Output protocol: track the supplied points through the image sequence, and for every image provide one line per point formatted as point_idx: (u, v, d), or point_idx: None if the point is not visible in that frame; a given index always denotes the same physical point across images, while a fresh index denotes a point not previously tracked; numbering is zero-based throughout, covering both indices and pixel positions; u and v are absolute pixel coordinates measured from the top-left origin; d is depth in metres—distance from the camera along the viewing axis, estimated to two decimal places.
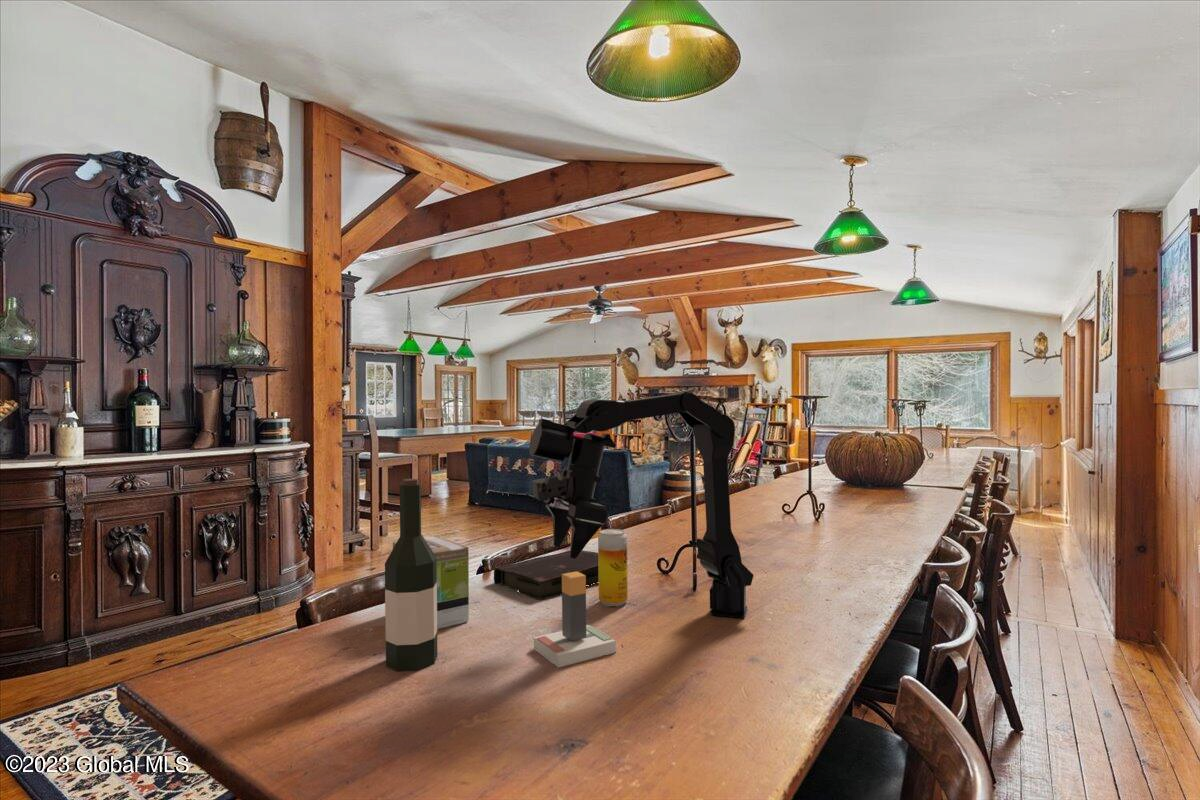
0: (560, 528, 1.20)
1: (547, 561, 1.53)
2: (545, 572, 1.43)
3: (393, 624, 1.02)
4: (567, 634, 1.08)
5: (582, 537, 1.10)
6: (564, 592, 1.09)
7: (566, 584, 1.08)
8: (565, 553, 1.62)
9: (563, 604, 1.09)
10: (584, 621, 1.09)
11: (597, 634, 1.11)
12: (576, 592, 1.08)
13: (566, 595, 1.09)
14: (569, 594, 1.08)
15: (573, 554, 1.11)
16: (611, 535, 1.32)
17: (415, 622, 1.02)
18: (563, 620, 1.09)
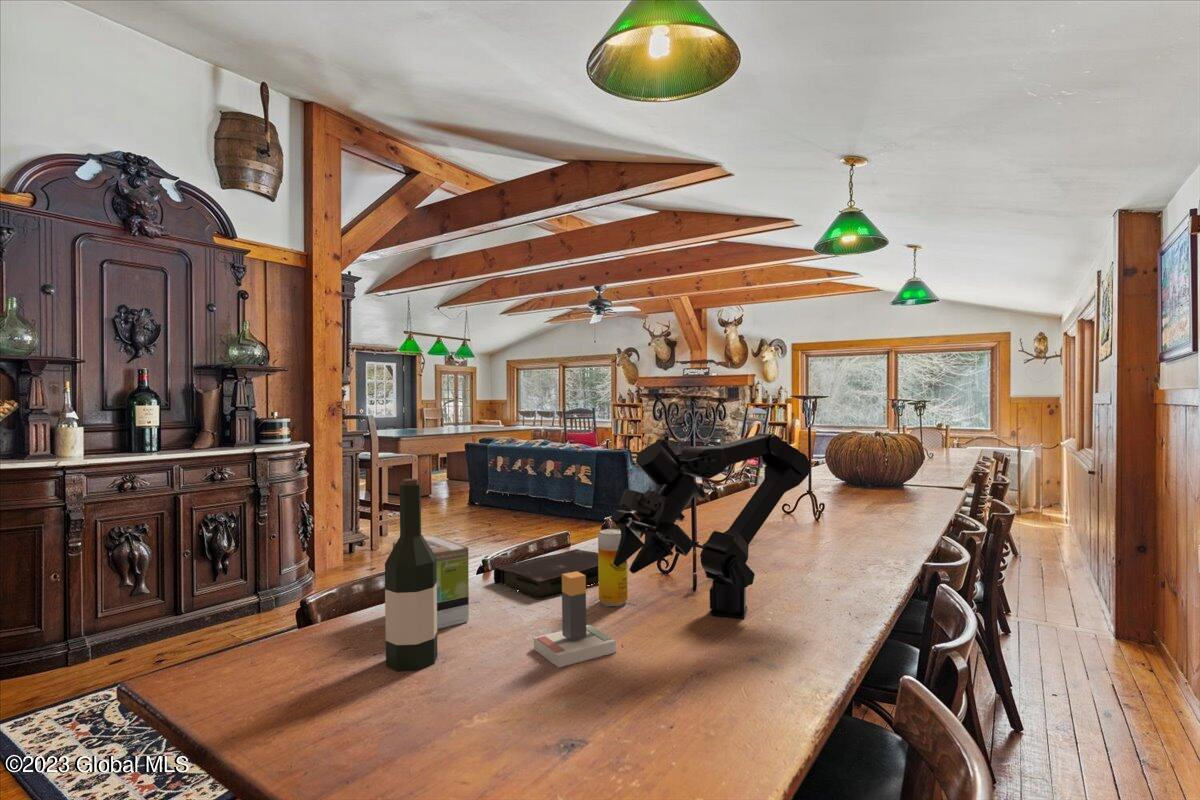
0: (625, 550, 1.18)
1: (547, 561, 1.53)
2: (544, 572, 1.43)
3: (393, 624, 1.02)
4: (567, 634, 1.08)
5: (649, 556, 1.13)
6: (564, 592, 1.09)
7: (566, 584, 1.08)
8: (566, 553, 1.62)
9: (563, 604, 1.09)
10: (584, 621, 1.09)
11: (597, 634, 1.11)
12: (576, 592, 1.08)
13: (566, 595, 1.09)
14: (569, 594, 1.08)
15: (634, 569, 1.12)
16: (611, 535, 1.32)
17: (415, 622, 1.02)
18: (563, 620, 1.09)
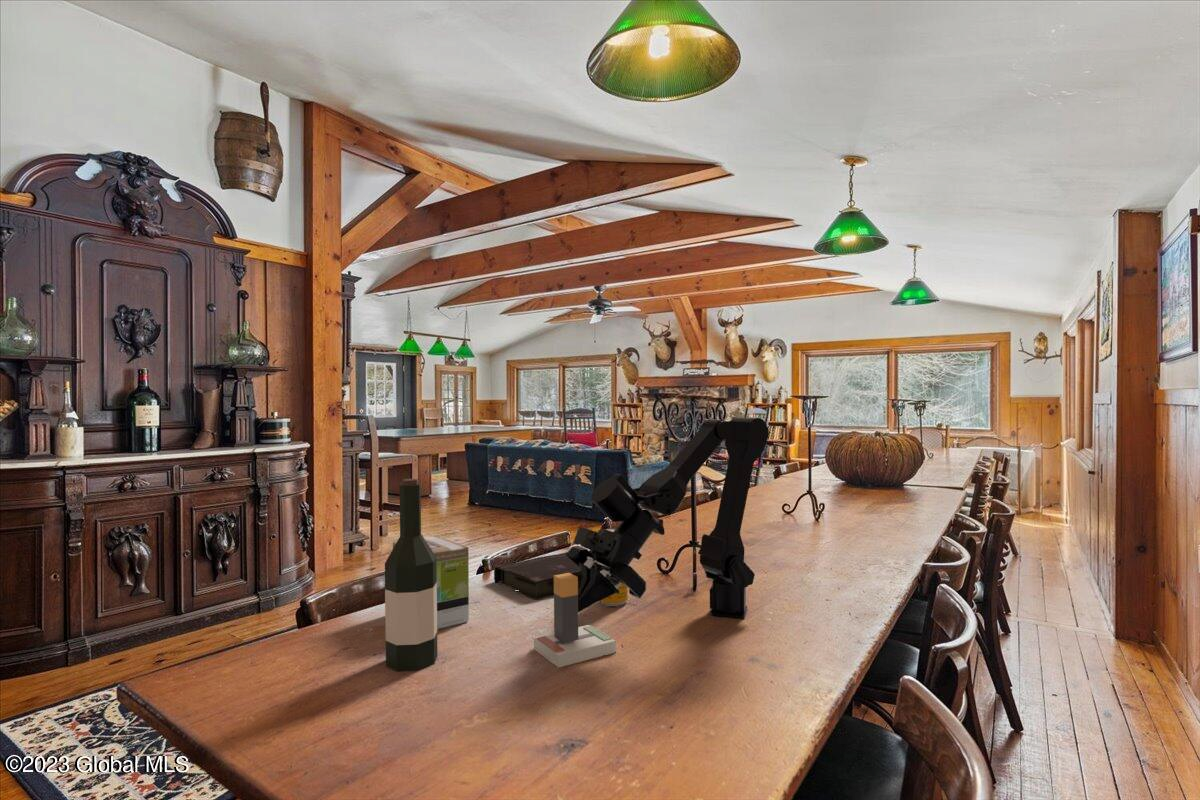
0: None
1: (548, 561, 1.54)
2: (543, 572, 1.43)
3: (393, 624, 1.02)
4: (559, 636, 1.07)
5: (594, 595, 1.10)
6: (556, 594, 1.08)
7: (558, 586, 1.08)
8: None
9: (555, 606, 1.09)
10: (576, 623, 1.08)
11: (597, 634, 1.11)
12: (568, 594, 1.07)
13: (557, 597, 1.08)
14: (561, 596, 1.07)
15: (578, 607, 1.09)
16: None
17: (415, 622, 1.02)
18: (555, 622, 1.09)
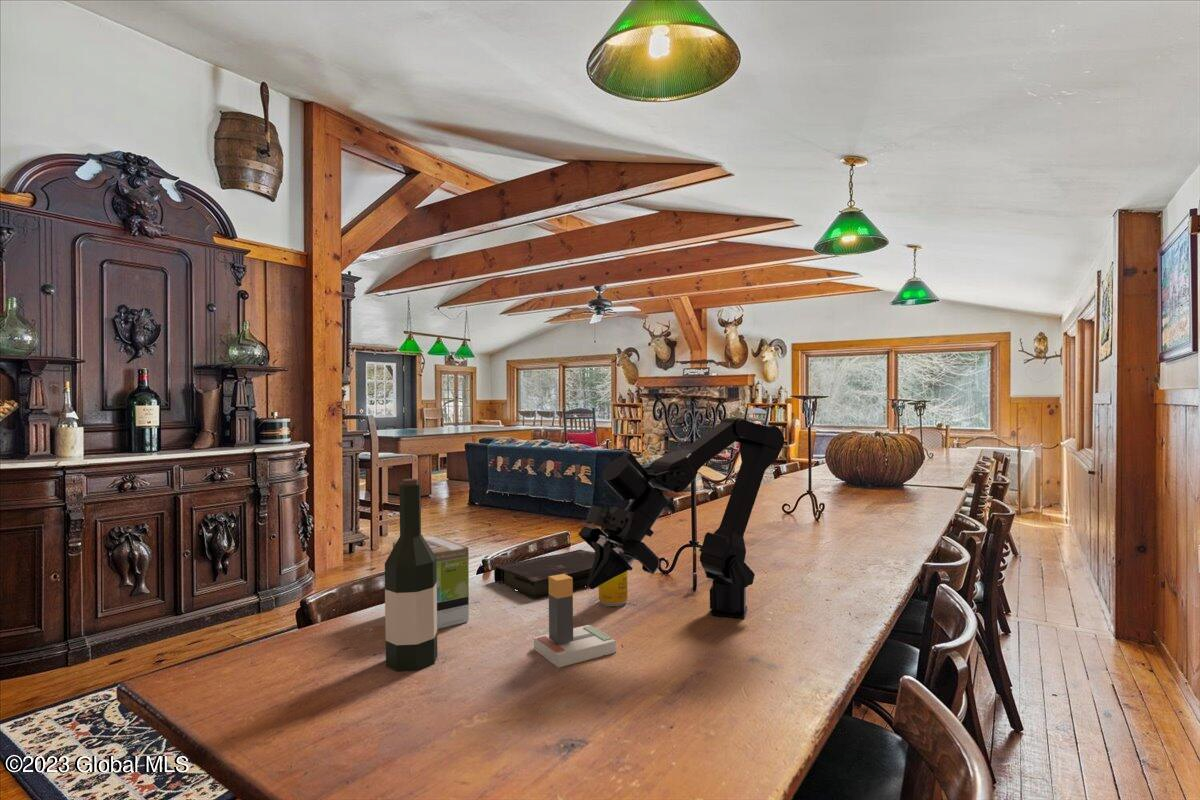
0: None
1: (548, 561, 1.54)
2: (542, 572, 1.43)
3: (392, 624, 1.02)
4: (554, 637, 1.07)
5: (608, 572, 1.11)
6: (551, 595, 1.08)
7: (553, 586, 1.07)
8: (569, 553, 1.62)
9: (550, 607, 1.08)
10: (571, 624, 1.07)
11: (597, 634, 1.11)
12: (563, 595, 1.07)
13: (552, 598, 1.07)
14: (556, 597, 1.06)
15: (592, 584, 1.11)
16: None
17: (415, 622, 1.02)
18: (550, 623, 1.08)
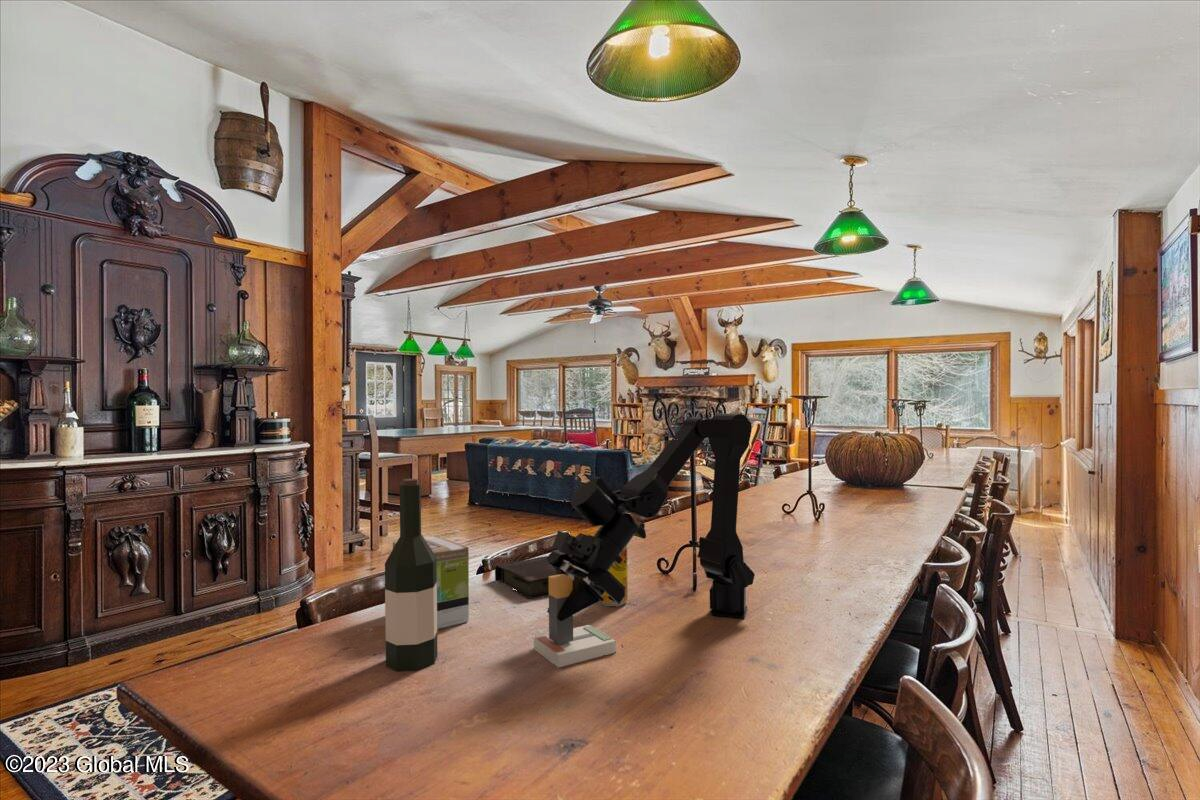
0: None
1: None
2: (539, 571, 1.44)
3: (393, 624, 1.02)
4: (554, 637, 1.07)
5: (578, 603, 1.06)
6: (551, 595, 1.08)
7: (553, 586, 1.07)
8: None
9: (550, 607, 1.08)
10: (571, 624, 1.07)
11: (597, 634, 1.11)
12: (563, 595, 1.07)
13: (552, 598, 1.07)
14: (556, 597, 1.06)
15: (561, 616, 1.06)
16: None
17: (415, 622, 1.02)
18: (550, 623, 1.08)
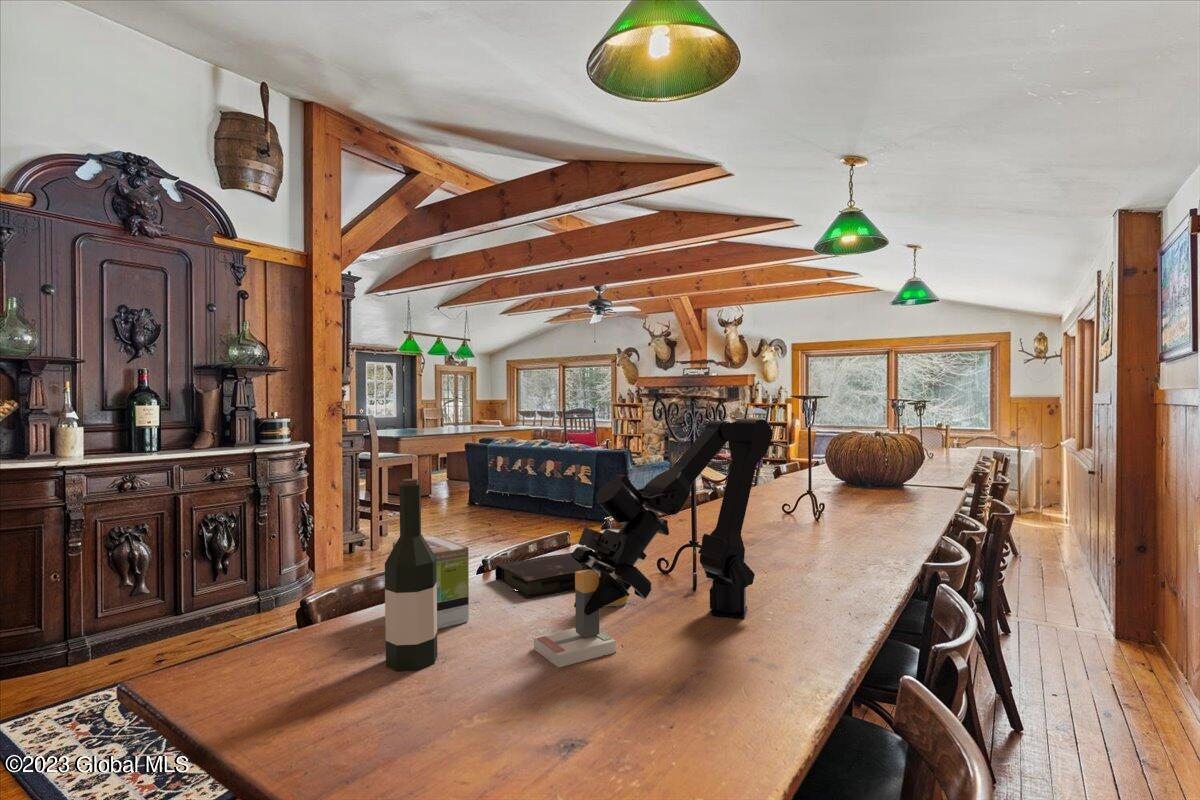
0: None
1: (549, 561, 1.54)
2: (538, 571, 1.44)
3: (393, 624, 1.02)
4: (580, 631, 1.10)
5: (604, 598, 1.09)
6: (577, 589, 1.10)
7: (579, 582, 1.10)
8: None
9: (576, 601, 1.11)
10: (597, 618, 1.10)
11: (597, 634, 1.11)
12: (589, 589, 1.09)
13: (579, 593, 1.10)
14: (582, 591, 1.09)
15: (588, 610, 1.09)
16: None
17: (415, 622, 1.02)
18: (576, 617, 1.11)
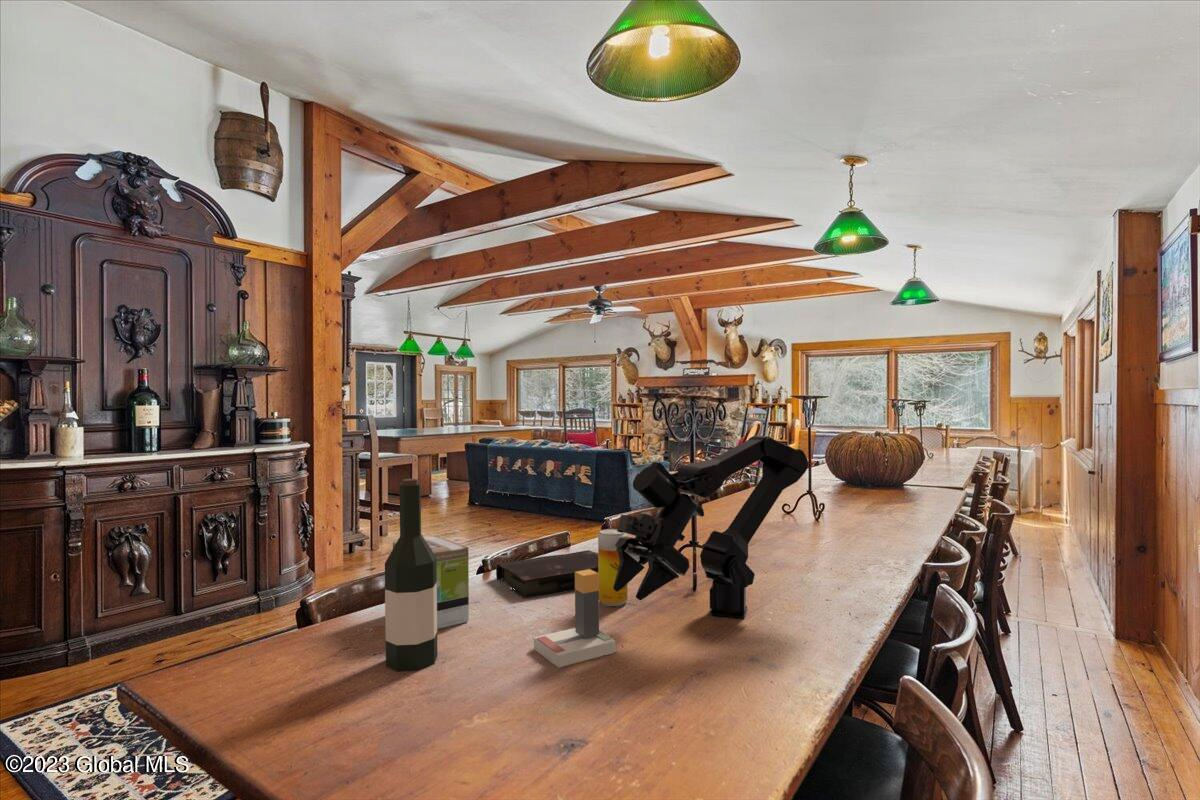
0: (624, 574, 1.20)
1: (550, 560, 1.54)
2: (537, 571, 1.44)
3: (393, 624, 1.02)
4: (580, 631, 1.10)
5: (654, 581, 1.11)
6: (577, 589, 1.10)
7: (579, 582, 1.10)
8: (575, 554, 1.61)
9: (576, 601, 1.11)
10: (597, 618, 1.10)
11: (597, 634, 1.11)
12: (589, 589, 1.09)
13: (579, 593, 1.10)
14: (582, 591, 1.09)
15: (640, 595, 1.11)
16: (611, 535, 1.32)
17: (415, 622, 1.02)
18: (576, 617, 1.11)
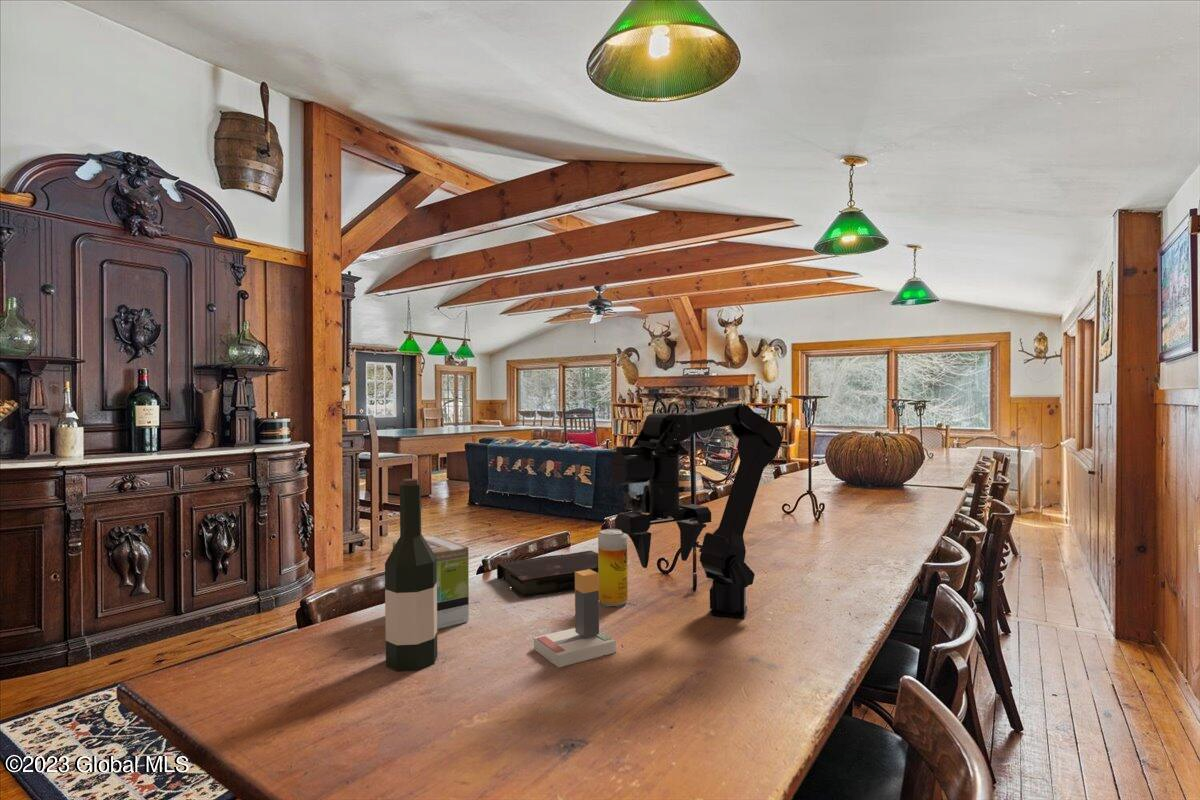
0: (684, 542, 1.22)
1: (550, 560, 1.54)
2: (535, 571, 1.44)
3: (393, 624, 1.02)
4: (580, 631, 1.10)
5: (640, 547, 1.16)
6: (577, 589, 1.10)
7: (579, 582, 1.10)
8: (577, 554, 1.61)
9: (576, 601, 1.11)
10: (597, 618, 1.10)
11: (597, 634, 1.11)
12: (589, 589, 1.09)
13: (579, 593, 1.10)
14: (582, 591, 1.09)
15: (643, 564, 1.17)
16: (611, 535, 1.32)
17: (415, 622, 1.02)
18: (576, 617, 1.11)
